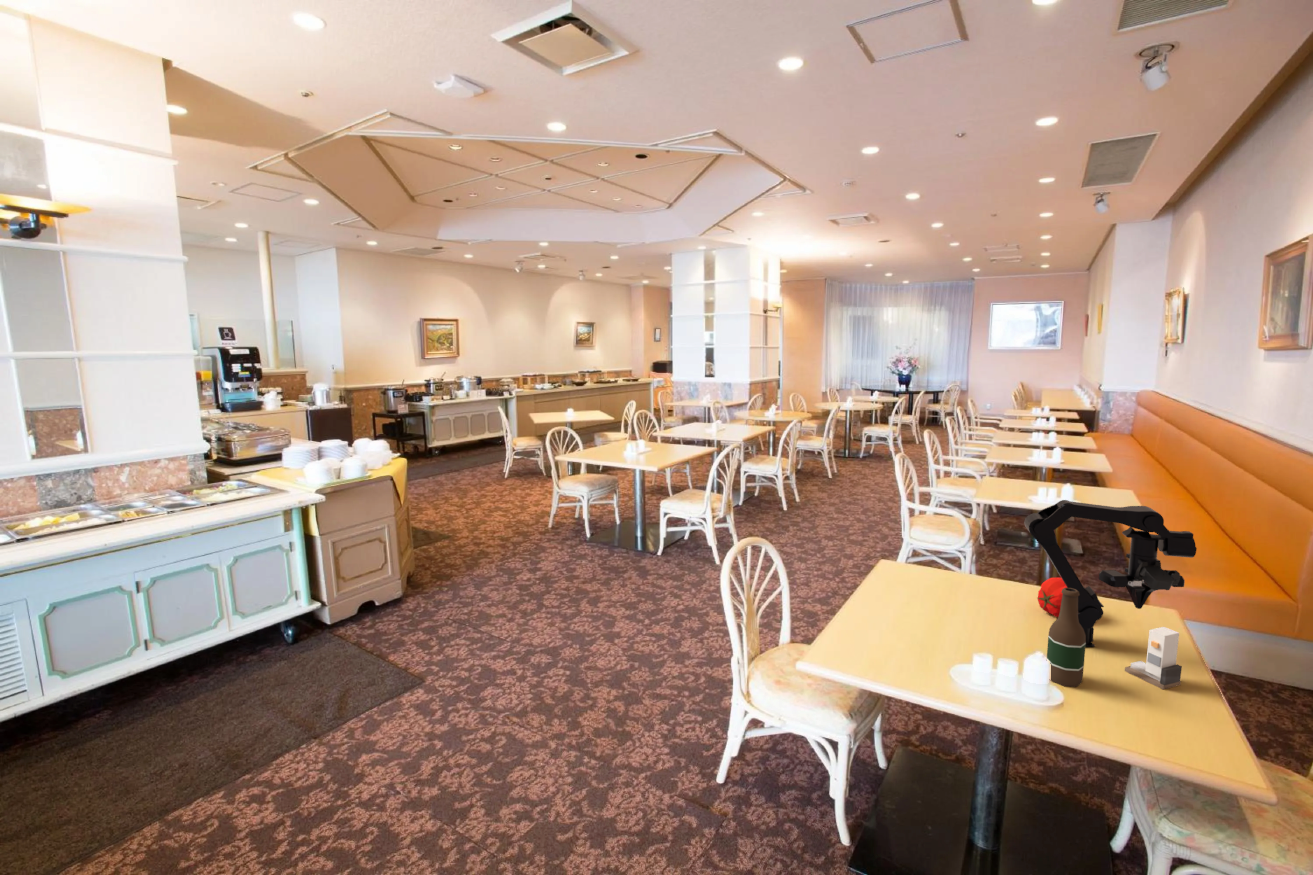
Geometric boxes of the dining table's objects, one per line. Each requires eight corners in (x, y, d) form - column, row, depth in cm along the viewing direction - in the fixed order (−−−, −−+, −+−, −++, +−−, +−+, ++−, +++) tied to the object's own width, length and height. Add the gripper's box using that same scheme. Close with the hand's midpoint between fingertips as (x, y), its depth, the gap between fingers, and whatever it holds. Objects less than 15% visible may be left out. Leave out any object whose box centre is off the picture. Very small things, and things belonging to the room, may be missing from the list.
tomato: (1073, 618, 193) (1037, 624, 191) (1057, 579, 198) (1021, 584, 196) (1105, 612, 182) (1067, 617, 179) (1086, 570, 187) (1049, 575, 184)
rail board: (1124, 670, 157) (1126, 652, 156) (1141, 666, 158) (1143, 648, 158) (1163, 689, 148) (1165, 670, 147) (1180, 684, 150) (1182, 666, 149)
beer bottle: (1083, 691, 148) (1091, 598, 145) (1045, 682, 152) (1052, 592, 149) (1081, 676, 155) (1088, 587, 151) (1045, 668, 159) (1051, 581, 155)
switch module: (1143, 671, 152) (1147, 630, 150) (1159, 667, 154) (1163, 626, 152) (1158, 678, 149) (1163, 636, 147) (1174, 674, 150) (1179, 632, 149)
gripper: (1128, 564, 156) (1123, 621, 158) (1204, 563, 155) (1198, 621, 157) (1099, 549, 167) (1095, 603, 169) (1170, 549, 166) (1165, 603, 168)
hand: (1138, 608), depth 166 cm, fingers closed
